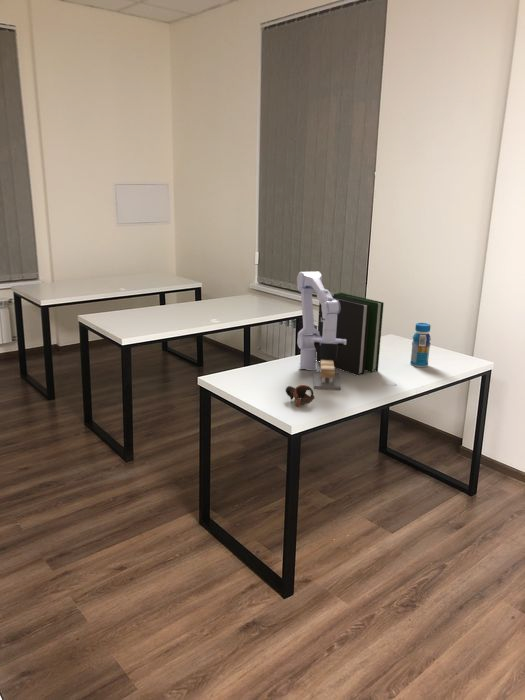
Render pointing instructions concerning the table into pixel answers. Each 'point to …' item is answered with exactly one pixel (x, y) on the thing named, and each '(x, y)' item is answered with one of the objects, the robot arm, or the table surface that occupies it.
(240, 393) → the table surface
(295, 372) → the table surface
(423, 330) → the beverage bottle
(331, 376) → the shelf board
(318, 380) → the peg stand
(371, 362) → the binder
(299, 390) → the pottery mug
